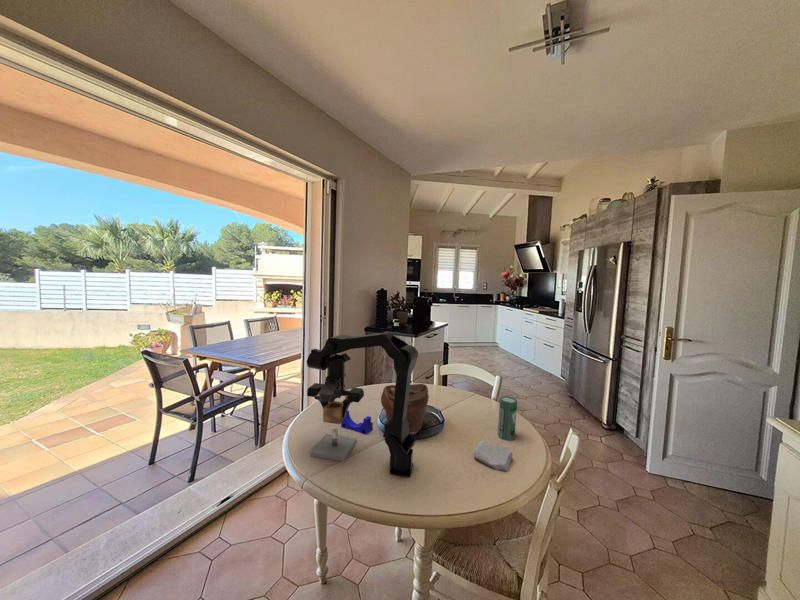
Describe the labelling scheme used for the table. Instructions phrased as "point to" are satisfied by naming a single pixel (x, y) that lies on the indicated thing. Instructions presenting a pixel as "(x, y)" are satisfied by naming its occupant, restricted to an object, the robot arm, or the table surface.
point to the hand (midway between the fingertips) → (335, 416)
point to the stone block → (493, 455)
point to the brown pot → (415, 404)
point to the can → (507, 418)
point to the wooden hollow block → (333, 412)
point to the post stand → (334, 447)
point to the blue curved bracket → (360, 427)
